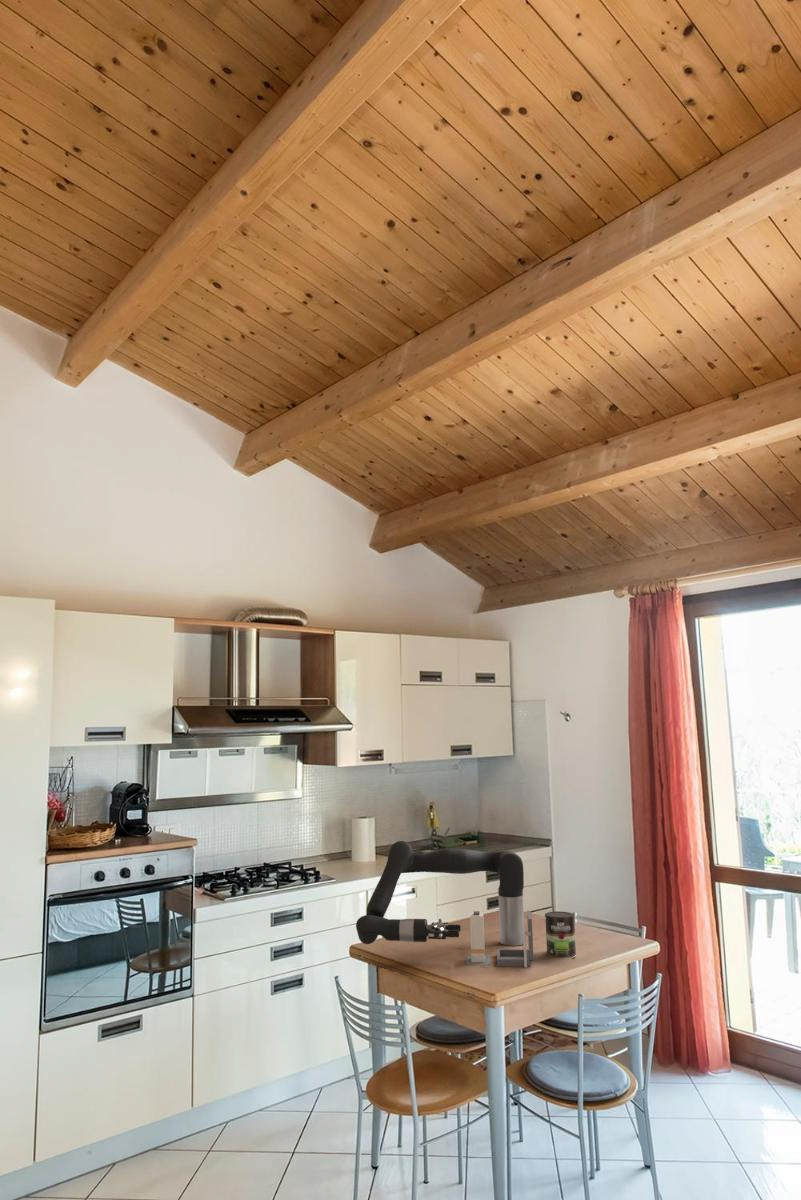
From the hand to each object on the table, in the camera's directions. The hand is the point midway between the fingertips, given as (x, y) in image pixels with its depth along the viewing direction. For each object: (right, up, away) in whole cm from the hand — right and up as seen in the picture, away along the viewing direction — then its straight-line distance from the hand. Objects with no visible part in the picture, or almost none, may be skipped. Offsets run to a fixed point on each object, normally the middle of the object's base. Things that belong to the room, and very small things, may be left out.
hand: (459, 930), depth 284 cm
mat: (+6, -10, -2) cm, 12 cm away
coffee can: (+36, -11, +5) cm, 38 cm away
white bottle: (+6, -9, -2) cm, 11 cm away
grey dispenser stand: (+18, -10, -4) cm, 21 cm away
